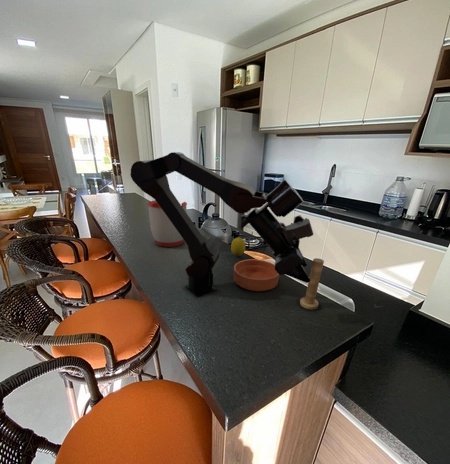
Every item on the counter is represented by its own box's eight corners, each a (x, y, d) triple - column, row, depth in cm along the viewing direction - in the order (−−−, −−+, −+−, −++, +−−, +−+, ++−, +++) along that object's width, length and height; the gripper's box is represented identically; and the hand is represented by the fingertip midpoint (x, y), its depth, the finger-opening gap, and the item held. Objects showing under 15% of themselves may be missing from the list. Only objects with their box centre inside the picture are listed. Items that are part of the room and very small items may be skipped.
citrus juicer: (197, 240, 111) (197, 194, 102) (170, 252, 98) (167, 201, 89) (172, 233, 118) (169, 190, 109) (143, 243, 105) (137, 195, 96)
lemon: (234, 260, 93) (236, 240, 90) (228, 255, 97) (228, 235, 94) (247, 258, 95) (249, 238, 92) (240, 253, 100) (241, 234, 96)
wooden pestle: (311, 311, 66) (321, 266, 60) (296, 303, 69) (304, 259, 63) (321, 305, 68) (332, 261, 62) (306, 297, 72) (315, 255, 66)
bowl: (255, 298, 70) (256, 284, 68) (224, 278, 80) (224, 266, 78) (287, 284, 78) (289, 271, 76) (255, 267, 88) (256, 256, 86)
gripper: (298, 217, 50) (343, 272, 53) (294, 200, 66) (328, 242, 69) (256, 249, 55) (299, 298, 58) (262, 226, 71) (295, 265, 74)
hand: (307, 273), depth 65 cm, fingers open, 9 cm apart
